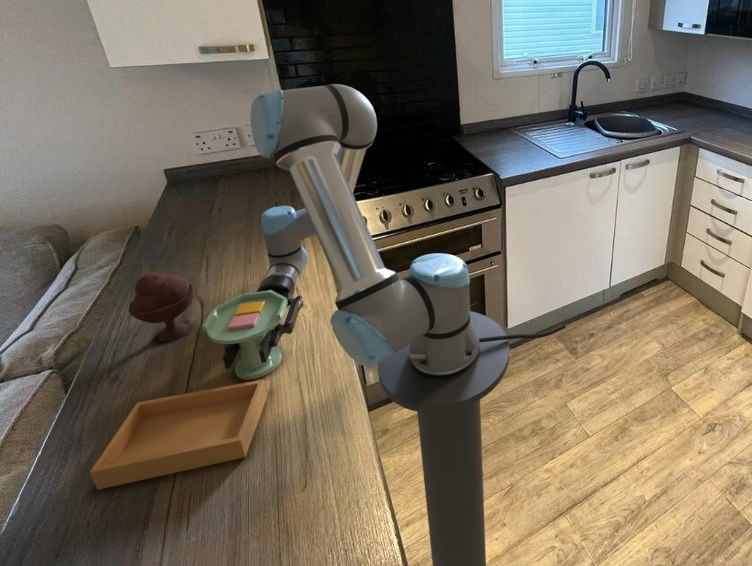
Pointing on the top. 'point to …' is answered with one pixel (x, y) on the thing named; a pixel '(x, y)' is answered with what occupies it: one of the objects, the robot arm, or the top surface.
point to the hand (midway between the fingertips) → (244, 359)
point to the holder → (182, 434)
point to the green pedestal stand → (248, 332)
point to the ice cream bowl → (162, 302)
